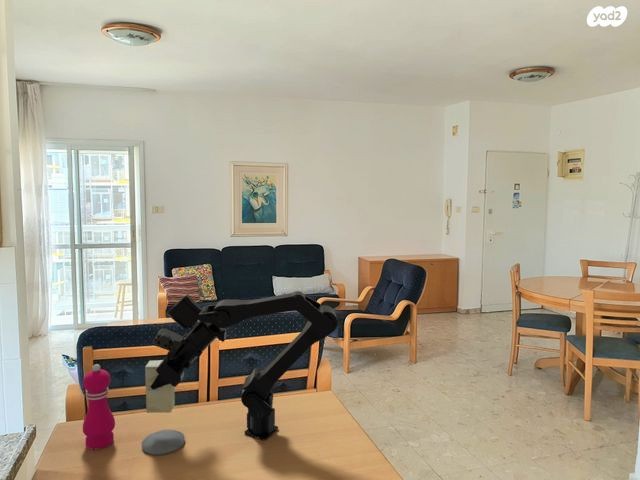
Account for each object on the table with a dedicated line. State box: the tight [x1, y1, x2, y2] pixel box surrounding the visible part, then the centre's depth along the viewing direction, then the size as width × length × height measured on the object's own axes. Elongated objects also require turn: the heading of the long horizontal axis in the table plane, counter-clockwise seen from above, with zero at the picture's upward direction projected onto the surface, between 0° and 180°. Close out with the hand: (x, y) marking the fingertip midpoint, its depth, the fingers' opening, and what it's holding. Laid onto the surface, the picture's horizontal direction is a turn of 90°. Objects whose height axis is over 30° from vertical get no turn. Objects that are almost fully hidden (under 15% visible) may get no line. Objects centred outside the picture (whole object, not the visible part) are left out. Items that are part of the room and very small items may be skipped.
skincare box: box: [144, 359, 176, 414], centre depth 120 cm, size 6×4×12 cm
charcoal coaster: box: [141, 429, 186, 456], centre depth 117 cm, size 10×10×1 cm
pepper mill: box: [82, 363, 116, 450], centre depth 116 cm, size 7×7×20 cm
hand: (154, 384), depth 120 cm, fingers closed on skincare box, 4 cm apart
